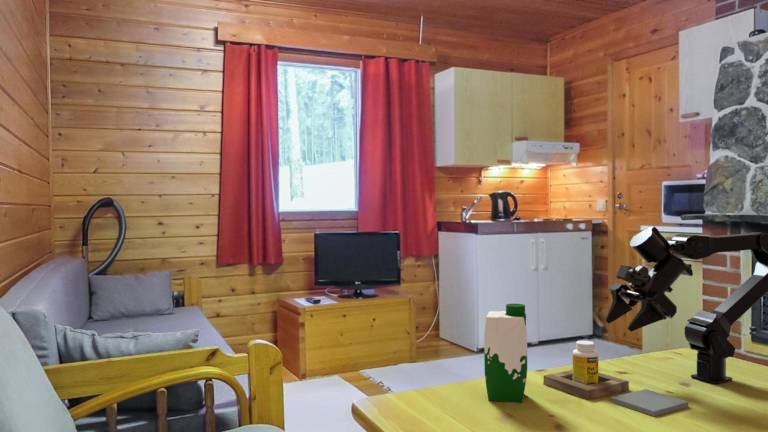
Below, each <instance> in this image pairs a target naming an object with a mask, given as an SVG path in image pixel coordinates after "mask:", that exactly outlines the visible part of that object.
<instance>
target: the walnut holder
mask: <svg viewBox="0 0 768 432" xmlns="http://www.w3.org/2000/svg"><path fill="white" fill-rule="evenodd" d="M543 385H544V386H547V387H551V388H553V389H557V390H559V391H562V392H565V393H567V394H571V395H573V396H576V397H579V398H582V399H585V400H587V401H588V400H593V399H597V398H602V397H606V396H611V395H614V394H618V393H619V394H620V393H622V392H627V391H629V390H630V381H629V380H626V379H623V378H620V377H616V376H614V375H613V376H612V375H610V374H606V373H602V372H599V371H598V383H596V384H592V385H584V384H581V383H578V382H575V381H573V369H571V370H570V369H569V370H566V371H559V372H555V373H550V374H546V375H545V374H544V375H543Z"/></svg>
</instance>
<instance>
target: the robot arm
mask: <svg viewBox="0 0 768 432" xmlns="http://www.w3.org/2000/svg"><path fill="white" fill-rule="evenodd" d="M629 246H631V247H632V249H633V250H634V251H635V252H636V253H637V254H639V256H640V257H641V258H642V259H643V260H644V261H645V262H646V263H647V264H649V263H650V264H651V263H652V264H653V263H654V264H653V266H652V267H651V268H650V269H649V267H646V266H644V265H637V267H633V266H631V265H626V264H620V265H619V267H618V270H617V273H616V275H615V278H617V279H619V280H622V281H625V282H627V283H628V285H627V284H626V283H625V284H624V283H620V282H613V284H611V286H610V287H609V290H608V291H610V295H611V296H612V297H611V298H612V302H611V305H610V308H609V310H608V313H607V316H606V318H605V322H606V324H609V325H610V324H611V323H613V322H615V321H616V320H618V319H619V318H621V317H622V316H625V315H626V314H627V313H629V312H631V311H632V310H633V308H634V307H636V305H638V303H641V304H640V305H641V307H640V309H639V311H638V312H637V313H636V315H635V316H634V318H633V319H632V320H631V322H630V323H629V325H628V326H627V330H628V331H629V332H635V331H636V330H640V329H641V328H644V327H647V326H648V325H649V326H650V325H651V324H654V323H657V322H659V321H662V320H664V321H666V320H667V318H668V319H673V318H674V316H675V315H676V314H677V313H678V311H677V310H678V309H677V307H678V306H677V305H676V304H675V303H674V302H673V301H672V299H670V297H668V296H667V295H666V293H670V294H671V293H672V291H673V288H672V285H673V284H674V283H675V282H676V281H677V280H678V279H679V278H680V276H681V275H682V276H687V277H688V276H689V277H692V276H694V271H693V268H692V266H693V265H692V264H691V263H686V262H685V261H684V260H685V259H686V260H695V261H697V260H698V261H699V260H701V259H704V258H705V259H706V258H709V257H710V256H713V255H714V254H718V253H728V252H738V251H739V252H740V251H750V252H751V255H752V258H753V259H754V260H755V261H756V263H755V267H754V272H753V274H752V275H751V276H750V277H749V278H748V279H747V280H745V281H744V282H743V283H742V284H741V285H740V286H739V287H738V288H737V289H736V290H734V291H733V292H732V293H731V294H730V295H728V297H726V298H725V300H724V301H722V302H721V303H720V304H719V305H718V306H717V307H716V308H714V310H712V311H710V312H709V311H705V310H700V309H699V310H698V311H697V312H695V314H694V315H693V317H691V318H688V319H686V320H687V323H686V324H685V326H684V328H683V329H684V337H685V339H686V341H687V342H688V345H689V348H690V350H693V351H696V352H697V353H696V373H694V374H691V375H690V377H691V379H692V378H693V379H696V380H699V381H704V382H708V383H712V384H718V385H719V384H722V383H725V382H730V381H733V377H731V376H727V359H728V358H733V357H734V355H735V352H736V347H735V346H734V344H732V343H731V342H730V340H729V337H730V333H731V330H732V326H733V325H734V324H735V323H736V322H737V321H738V320H740V318H741V317H742V316H743V315H745V314H746V313H747V312H748V311H749V310H750V309H751V308H752V307H753V306H754V305H755V304H756V303H757V302H759V301H760V300H761V299H762V298H763V297H764V296H765V295H766V294H767V293H768V233H766V232H755V231H750V232H749V233H739V234H726V235H725V234H723V235H716V236H715V235H714V236H711V235H710V236H708V235H701V234H684V233H678V234H675V235H673V237H672V238H671V239H666V238H665V237H664V236H663V235H662V234H661V233H660V231H659V229H658V228H657V227H656V226H653V225H652V226H650V225H649V226H648V227H647V228H646V229H644V230H642V231H640V232H639V233H637V234H635V235H634V236H633V237H632V238H631V240H630V242H629ZM683 259H684V260H683Z"/></svg>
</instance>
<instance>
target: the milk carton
mask: <svg viewBox="0 0 768 432" xmlns="http://www.w3.org/2000/svg"><path fill="white" fill-rule="evenodd" d="M527 331H528V330H527V315H526V305H525V304H522V303H507V304H506V305H505V310H501V311H493V310H492V311H491V310H489V311H488V312H487V314H486V316H485V324H484V332H483V333H484V335H483V336H484V337H483V338H484V339H483V340H484V341H483V342H484V344H483V345H484V346H483V347H484V360H483V361H484V380H485V386H486V387H485V388H486V394H487V400H488V401H490V400H495V401H494V402H502V403H503V402H504V403H505V402H506V403H519V404H523V402H524V401H523V399H524V397H525V389H526V385H527V378H528V376H527V375H528V334H527V333H528V332H527Z"/></svg>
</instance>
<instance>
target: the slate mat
mask: <svg viewBox="0 0 768 432" xmlns="http://www.w3.org/2000/svg"><path fill="white" fill-rule="evenodd" d="M610 398H611V401H610V402H611V403H613V404H616V405H619V406H621V407H625V408H628V409H631V410H634V411H637V412H640V413H641V414H646V415H648V416H652V417H656V416H661V415H664V414H668V413H671V412H674V411H678V410H681V409H685V408H689V401H687V400H684V399H680V398H677V397H674V396H670V395H666V394H664V393H661V392H657V391H653V390H650V389H648V388H647V389H646V388H644V389H640V390H636V391H631V392H628V393H624V394H619V395H615V396H611V397H610ZM660 414H661V415H660Z"/></svg>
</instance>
